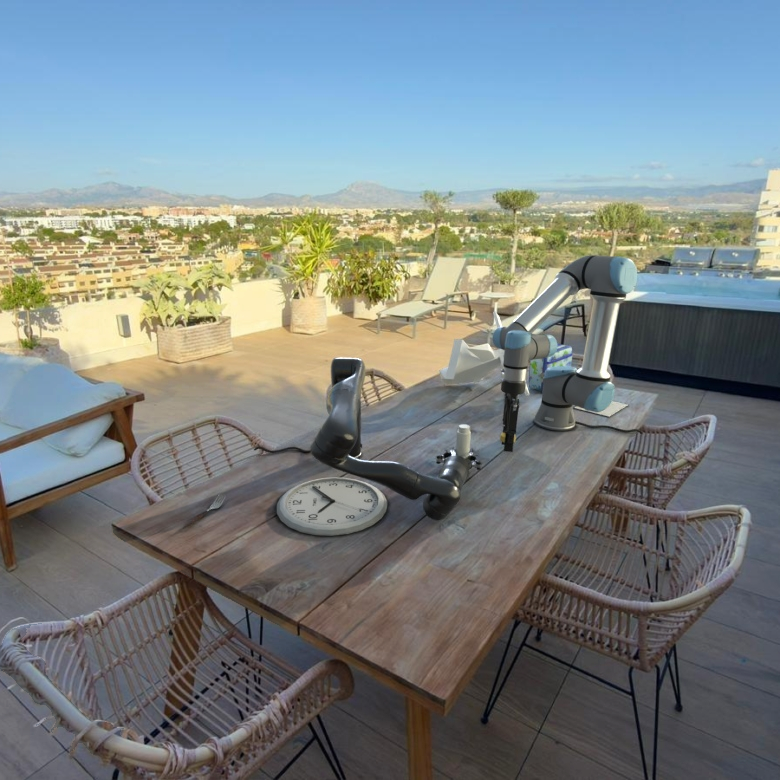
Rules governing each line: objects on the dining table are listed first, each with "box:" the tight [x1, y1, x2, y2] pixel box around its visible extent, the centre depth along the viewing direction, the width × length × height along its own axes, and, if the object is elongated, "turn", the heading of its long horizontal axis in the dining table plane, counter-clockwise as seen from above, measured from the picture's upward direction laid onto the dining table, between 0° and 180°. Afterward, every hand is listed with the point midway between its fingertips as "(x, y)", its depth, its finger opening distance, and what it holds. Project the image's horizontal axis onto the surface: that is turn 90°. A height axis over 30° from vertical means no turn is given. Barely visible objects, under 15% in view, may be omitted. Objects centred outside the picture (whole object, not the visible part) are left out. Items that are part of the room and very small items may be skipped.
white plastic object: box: [438, 310, 531, 397], centre depth 245 cm, size 37×45×31 cm
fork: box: [182, 493, 227, 529], centre depth 136 cm, size 3×16×2 cm, turn 160°
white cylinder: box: [455, 423, 472, 456], centre depth 161 cm, size 4×4×16 cm
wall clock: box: [276, 476, 388, 537], centre depth 142 cm, size 30×2×30 cm
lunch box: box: [528, 343, 574, 392], centre depth 249 cm, size 26×11×21 cm, turn 134°
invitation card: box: [573, 400, 629, 418], centre depth 226 cm, size 21×1×15 cm
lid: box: [499, 431, 517, 443], centre depth 171 cm, size 5×5×2 cm
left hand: (463, 450), depth 164 cm, fingers closed on white cylinder, 4 cm apart
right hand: (506, 447), depth 172 cm, fingers closed on lid, 5 cm apart
